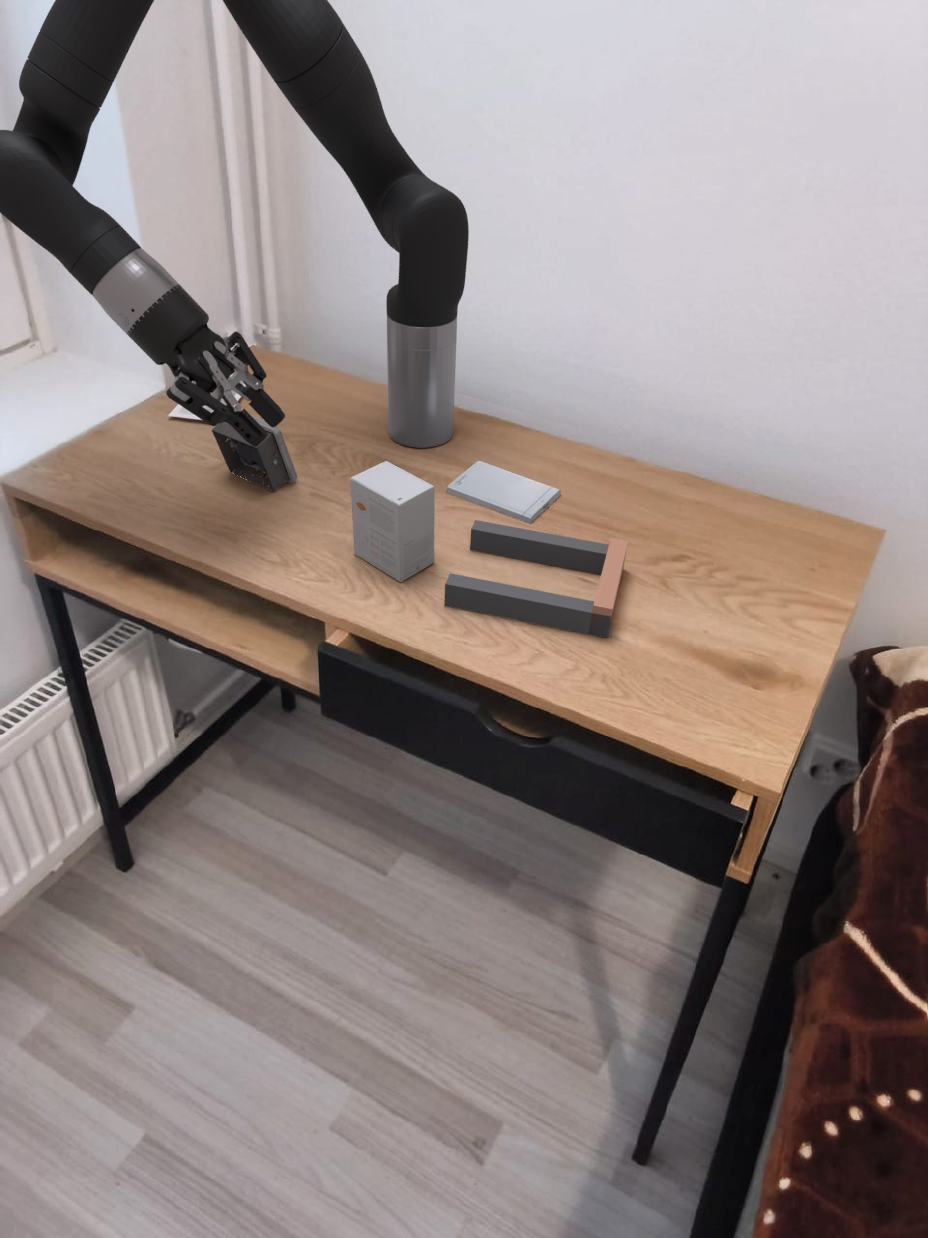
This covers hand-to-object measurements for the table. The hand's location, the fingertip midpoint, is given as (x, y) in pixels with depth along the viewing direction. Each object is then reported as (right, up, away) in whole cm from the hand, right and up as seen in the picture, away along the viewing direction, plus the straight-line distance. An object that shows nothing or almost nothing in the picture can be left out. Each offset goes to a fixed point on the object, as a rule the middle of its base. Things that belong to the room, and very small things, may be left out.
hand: (270, 430), depth 100 cm
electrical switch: (-5, -3, +19) cm, 20 cm away
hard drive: (+26, -5, +19) cm, 33 cm away
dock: (+30, -17, +3) cm, 35 cm away
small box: (+13, -14, +7) cm, 20 cm away
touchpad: (-16, +11, +36) cm, 41 cm away
